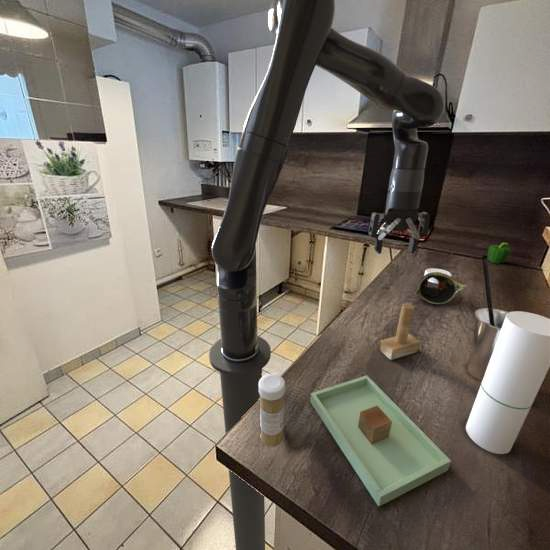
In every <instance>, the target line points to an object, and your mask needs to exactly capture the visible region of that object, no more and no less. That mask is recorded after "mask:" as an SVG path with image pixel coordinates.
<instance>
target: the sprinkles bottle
mask: <svg viewBox="0 0 550 550" xmlns="http://www.w3.org/2000/svg"><path fill="white" fill-rule="evenodd" d="M285 393H286V382H285V379H284V377H282V376H281V375H279V374H277V373H266V374H264V375H262V378H261V379H260V380H259V394H260V427H261V433H260V439H261V441H262V443H263V446H266V447H268V448H276V447H278V446H280V445H281V444H282V443H283V441H284V439H285V434H284V427H285Z"/></svg>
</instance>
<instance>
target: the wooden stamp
mask: <svg viewBox="0 0 550 550" xmlns="http://www.w3.org/2000/svg"><path fill="white" fill-rule="evenodd" d="M414 310H415V306H414V305H413V304H411V303H409V302H405V303H402V304H401V308H400V313H399V319H398V323H397V329H396V333H395V336H392V337H388V338H385V339H381V340H380V344H379V346H380V352H381V353H382V354H383V355H384V356H385V357H386V358H387V359H389V361H392V360H395V359H398V358H402V357H405V356H408V355H412V354H415V353H418V350H419V348H421V347H420V346H421V340H419V339H418V338H416V337H415V336H414V335H412V334H411V333H410V328H411V324H412V320H413V314H414Z"/></svg>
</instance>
